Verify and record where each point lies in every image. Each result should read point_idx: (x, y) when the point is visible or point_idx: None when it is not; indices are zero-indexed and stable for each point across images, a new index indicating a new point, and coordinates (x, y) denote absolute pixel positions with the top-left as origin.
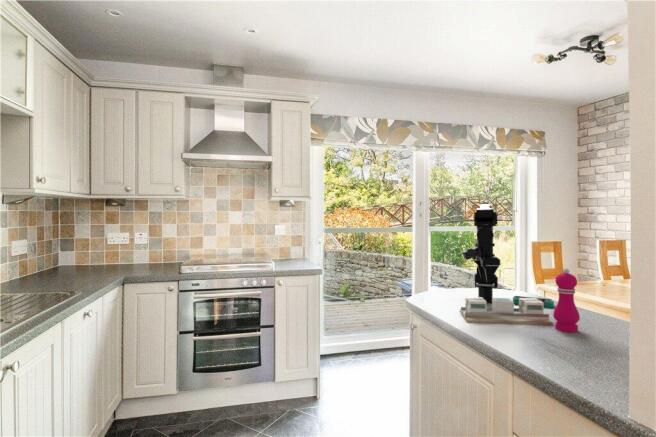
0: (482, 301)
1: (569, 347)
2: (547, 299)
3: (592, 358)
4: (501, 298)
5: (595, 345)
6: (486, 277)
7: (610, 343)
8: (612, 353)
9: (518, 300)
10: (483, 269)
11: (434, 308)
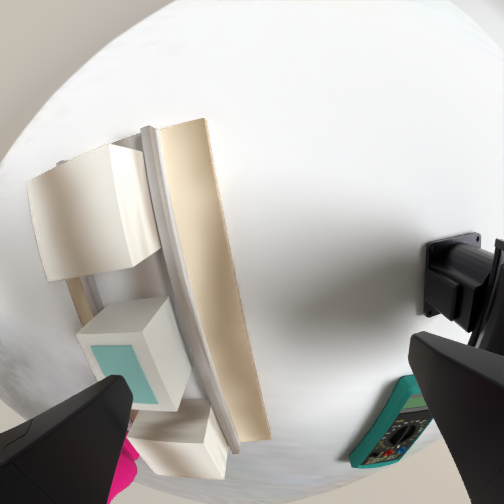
0: (42, 259)
1: (19, 385)
2: (398, 456)
3: (4, 389)
4: (137, 376)
5: None
6: (63, 401)
7: None
8: None
9: (399, 403)
10: (470, 432)
11: (240, 12)
